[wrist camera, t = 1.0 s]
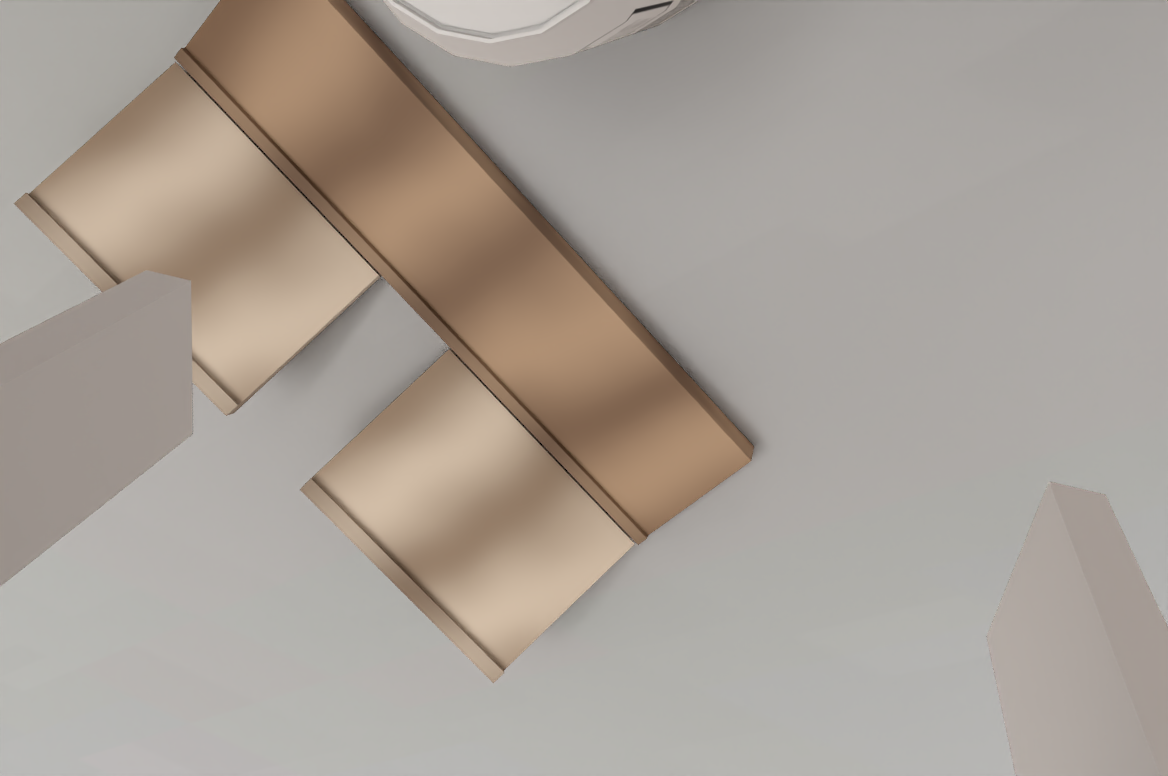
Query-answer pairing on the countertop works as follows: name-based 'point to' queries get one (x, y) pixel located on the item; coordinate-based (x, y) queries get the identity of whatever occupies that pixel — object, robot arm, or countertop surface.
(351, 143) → the laid board
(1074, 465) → the countertop surface
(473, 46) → the supplement can
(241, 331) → the plank
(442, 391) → the plank
